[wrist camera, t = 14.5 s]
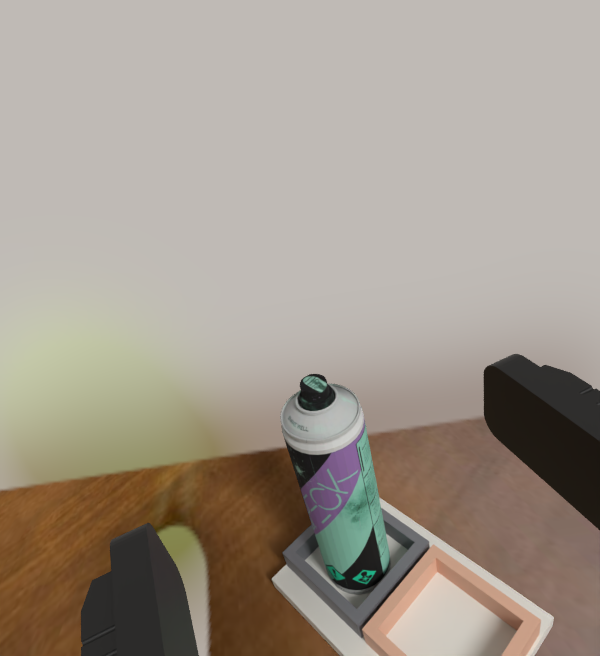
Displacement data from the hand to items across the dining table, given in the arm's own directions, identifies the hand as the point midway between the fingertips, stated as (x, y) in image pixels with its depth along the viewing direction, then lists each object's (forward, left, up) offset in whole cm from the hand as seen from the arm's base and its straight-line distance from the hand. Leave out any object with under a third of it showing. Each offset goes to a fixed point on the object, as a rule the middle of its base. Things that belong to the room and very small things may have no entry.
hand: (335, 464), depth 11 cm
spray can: (+9, +14, -31) cm, 35 cm away
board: (+9, +9, -32) cm, 35 cm away
